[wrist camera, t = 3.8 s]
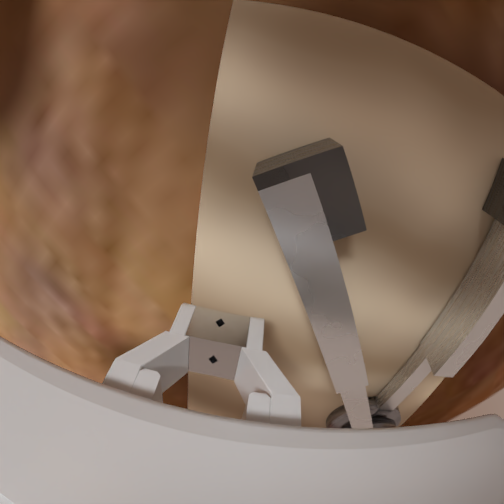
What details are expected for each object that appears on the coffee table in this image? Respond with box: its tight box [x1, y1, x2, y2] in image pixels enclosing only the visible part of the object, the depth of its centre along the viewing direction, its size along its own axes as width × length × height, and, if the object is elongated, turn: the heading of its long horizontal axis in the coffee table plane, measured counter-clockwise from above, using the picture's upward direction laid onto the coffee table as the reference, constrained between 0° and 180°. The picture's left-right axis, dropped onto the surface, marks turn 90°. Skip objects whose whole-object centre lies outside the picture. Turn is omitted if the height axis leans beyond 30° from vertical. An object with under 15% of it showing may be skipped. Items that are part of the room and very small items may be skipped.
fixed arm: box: [326, 158, 504, 428], centre depth 11 cm, size 19×5×2 cm, turn 164°
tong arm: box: [252, 138, 397, 428], centre depth 12 cm, size 18×4×2 cm, turn 22°
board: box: [188, 0, 504, 428], centre depth 14 cm, size 26×15×2 cm, turn 170°
